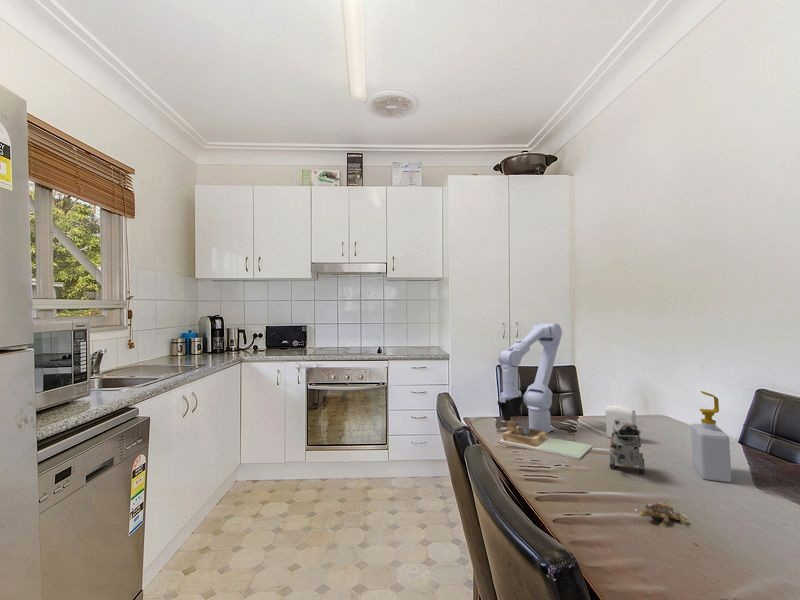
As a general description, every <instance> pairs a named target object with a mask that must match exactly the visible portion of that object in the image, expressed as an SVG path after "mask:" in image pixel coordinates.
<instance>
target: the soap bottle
mask: <svg viewBox="0 0 800 600" xmlns="http://www.w3.org/2000/svg"><path fill="white" fill-rule="evenodd" d="M700 393H701V394H703V395H704V396H705V395H706V396H709V397H713V402H714V403H713V404H714V407H713V409H710V408H709V409H707V408H699V411H700V412H701V413H702V414H701V415H702V416H703V415H704V418H701V419H700V422H701V423H691V425H690V430H691V432H690V433H691V454H692V464H693V466H694V467H695V469H696V471H697V472H698V473H699V475H700V477H701V478H702V479H703V480H707V481H708V480H709V481H716V482H723V483H732V468H731V467H732V466H731V465H732V464H731V463H732V462H731V447H730V446H731V445H730V444H731V443H730V437H729V436H728V434H727V433H726V432H725V431H723V430H722V429H721V428H720V427H719V426H718V425H716V423H717V421H716V420H715V419H713V416H715V414H718V413H719V411H720V404H719V398H718V397H717V396H716V395H714V394H712V393H708V392H705V391H702V390H701V391H700Z"/></svg>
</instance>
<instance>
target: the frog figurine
mask: <svg viewBox="0 0 800 600" xmlns="http://www.w3.org/2000/svg"><path fill="white" fill-rule="evenodd" d="M640 507H641V506H639V505H638V506H637V507H636V508H635V509H634V511H635V512H637V511H638V508H640ZM672 511H674V507H672V506H671V505H670V504H668V503H667V502H666V501H663V502H656V503H655V504H653V503H652V504H646V505H645V507H644V508H643V509H642V510H641V511H640V512H639V513H638V516H639V517H643V518H644V517H646V518H647V517H648V518H654V519H655V520H657V521H662V522H660V523H658V526H659V527H661V528H667V527H668V525H667V524H668V522H670V521H671V520H672V519H673V520H677V522H678V523H679V524H680V525H683V526H685V525H686V524H687V523H688V518H689V517H688V516H687V515H686V514H684V513H681V512H676V513H673V512H672Z"/></svg>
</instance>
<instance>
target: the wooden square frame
mask: <svg viewBox="0 0 800 600" xmlns="http://www.w3.org/2000/svg"><path fill="white" fill-rule="evenodd" d="M506 424H507V425H506V427H507V431H505V432H504V433H502V439H503V440H504V441H509V442H514V443H518V444H523V445H528V446H533V447H536V446H537V445H539V444H540V443H541V442H543V441H544V440H546V439H547V438H548V437H549V436H548V435H549V433H548V431H542V430H537V429H531V428H529V427H528V428H529V430H530V436H532V437H533V438H531V437H526V436H520V435H519V434H521V428H522V427H523V426H519V425H517V422H516V421H511V420H510V421H507V422H506Z"/></svg>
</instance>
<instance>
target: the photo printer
mask: <svg viewBox="0 0 800 600" xmlns="http://www.w3.org/2000/svg"><path fill="white" fill-rule="evenodd" d="M615 419H626V420H627V421H628V422H630V423H631V424H632V425H633V424H634V425H636V426H637V414H636V411H635V409H633V408H631V407H629V406H625V405H622V404H621V405H620V404H612V405H607V406H606V408H605V424H606V425H605V427H606V437H607V438H609V439H612V433H613V432H614V433H615V431H614V430H613V428H612V426H613V424H614V423H613V421H614V420H615ZM615 435H616V434H615ZM635 437H636V438H637V436H635Z"/></svg>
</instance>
